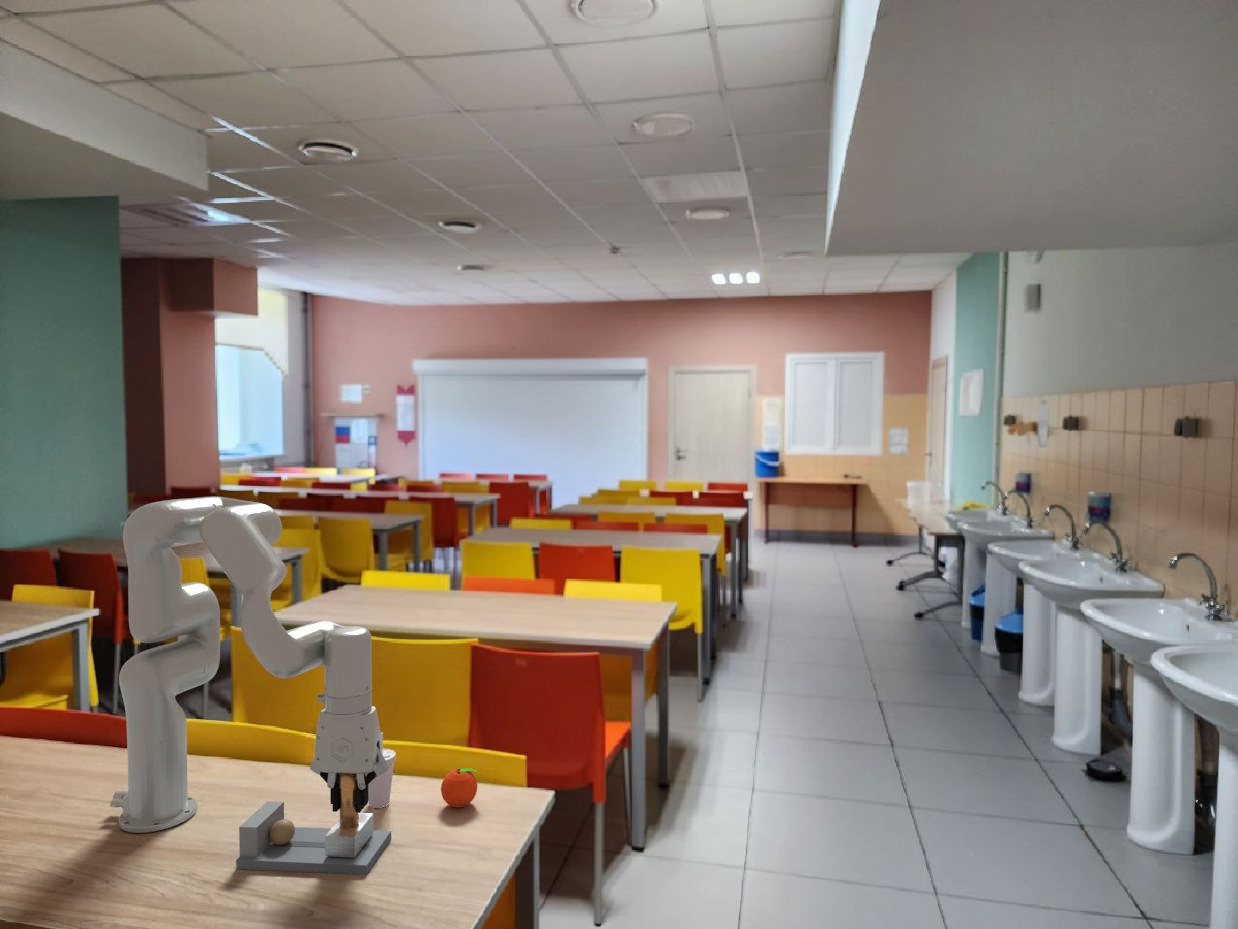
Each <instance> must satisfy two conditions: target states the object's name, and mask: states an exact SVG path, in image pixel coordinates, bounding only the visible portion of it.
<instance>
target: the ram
mask: <svg viewBox="0 0 1238 929" xmlns="http://www.w3.org/2000/svg"><path fill="white" fill-rule="evenodd" d="M357 788H358V781H357V774H349V773H339V792H340V809H339V819H338V820H337V821H336V822H335V824H334V825H333V826H332V827H331V830H330V831H329V832H328V833H327V834H326V835H325V856H334V857H355V856H356V855H357V854H358V852H359V851H360V850H361V848H362V847H363V846H364V844H365V843H366V842H367V840H368V839H369V838H370V836H371V835H372V834H373V830H374V813H371V812H369V813H368V812H360V813H356V812H355V790H356V789H357Z"/></svg>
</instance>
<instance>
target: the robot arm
mask: <svg viewBox="0 0 1238 929" xmlns="http://www.w3.org/2000/svg"><path fill="white" fill-rule="evenodd" d="M122 531H123V532H122V544H123V549H124V553H125V557H126V563H127V569H128V572H127V573H128V575H127V576H128V578H127V580H128V582H127V586H128V587H127V589H128V590H127V591H128V592H127V593H128V625H129V626H128V627H129V632H130V634H131V636H132V638H134V640H136V641H137V642H140V643H142V644H143V643H144V644H154V643H158V642H162V641H166V640H169V639H173V638H177V641H174V642H171V643H167V644H166V643H165V644H163V645H158V646H156V647H152V648H150V649H146V650H144V651H141V652H139V653H137V654H135V655H133V656H131V657H130V658H129V659H128V660H127V661H125V663H124V664H123V665H122V666H121V669H120V671H119V677H118V683H119V688H120V692H121V697H122V699H123V700H122V701H123V705H124V710H125V711H124V712H125V719H126V740H127V741H126V742H127V743H126V746H127V747H126V748H127V750H126V751H127V789H128V791H126V790H125V791H123V790H117V791H115V792H114V794H113V796H112V800H111V801H110V804H109V806H110V808H121V809H122V813H121V814H120V816H119V818H118V826H119V828H120V829H121V830H122V831H125V832H126V833H136V834H137V833H139V834H144V833H152V832H153V833H154V832H157V831H158V832H159V831H162V830H167V829H171V828H172V827H175V826H178V825H179V824H182V823H184V822H185V821H187V820H189V819H190V818H191V817H193V816H194V815H195V814H196V812H197V811H198V801H197V800H196V798H194V797H192V796H189V793H188V792H189V789H188V787H189V785H188V739H187V738H188V737H187V736H188V735H187V731H188V730H187V728H188V727H187V716H186V713H185V711H184V710H183V708H182V707H181V706H180V705H179V703H178V702H177V700H176V696H177V695H180V694H182V693H183V692H186V691H188V690H189V691H190V690H192V689H193V688H197V687H199V686H201V685H204V684H206V683H208V682H209V681H211V680H212V679H213V678H214V677H215V675H216V674H217V672H218V669H219V667H220V660H221V614H220V613H221V612H220V611H221V609H220V604H219V599H218V598H217V596H216V594H215V592H214V591H213V590H212V589H211V588H210V586H207V585H206V584H204V583H202V582H186V583H183V568H182V564H181V561H180V559H179V557H178V555H177V554H176V552H175V551H174V550H173V549H172V548H173V547H174V548H175V547H181V546H186V545H195V544H201V543H203V544H204V545H205V547H206V548H207V550H208V551H209V552H210V553H211V555H212V557H213V558H214V559H215V561H216V562H217V564H218V565H219V566H220V568H221V569H222V571H223V572H224V574H225V575H226V576H227V578H228V579H229V581H230V582H231V583H232V584H233V586H234V587H235V589H236V590H237V592H238V593H239V594H240V598H241V599H240V606H239V621H240V629H241V634H242V637H243V639H244V641H245V644H246V645H247V647H248V648H249V650H251V652H252V654H253V655H254V657H255V658H256V659H257V661H258V663H260V665H261V666H262V667H263V668H264V669H265V670H266V671H267V672H268V673H269V674H271V675H272V676H274V677H276V678H280V679H290V678H294V677H297V676H299V675H301V674H303V673H304V674H305V673H307V672H308V671H311V670H314V669H317V668H319V667H322V666H324V692H323V693H319V694H318V695H317V696H316V699H317V700H316V701H317V703H322V704H323V709H322V710H321V711H320V712H319V716H318V719H317V726H316V732H315V743H314V758H313V760H312V762H311V764H310V765H309V770H310V771H312V772H314V773H315V774H317V775H319V776H320V778H322V779H323V780H324V782H325V783H327V784H326V785H327V788H328V789H330V790H329V792H330V793H329V794H330V804H331V805H332V812H333V813H336V812H338V811H340V792H339V773H349V774H357V781H358V788H357V789H356V790H355V812H356V813H362V810H363V809H364V808H365V807H366V806H367V805H369V792H368V784H369V783H370V782H371V781H372V780H373V779H374V778H376V777H378V776H380V775H382V774H383V773H385V772H386V771H387V770H388V769H389V766H388V764H387V762H386V760H385V759H384V757H383V755H382V753H381V735H380V733H381V728H380V722H379V716H378V712H377V709H376V706H373V678H372V677H373V665H372V664H373V662H372V660H373V656H372V652H373V649H372V648H373V647H372V633H371V631H370V630H368V629H367V628H366V627H363V626H356V625H355V626H354V625H353V626H352V625H351V626H346V625H341V624H338V623H336V622H333V621H329V620H316V621H313V622H310V623H307V624H304V625H299V626H298V627H295V628H291V629H288V630H286V629H285V628H284V626H283V625H282V623H281V622H280V620H279V619H278V618H277V616H276V614H275V612H274V610H273V607H272V603H271V602H272V601H271V597H272V593H273V591H275V590H276V589H277V588H278V587H279V586H280V585H281V584H282V583H283V581H284V580H285V578H286V576H287V574H288V569H287V566H286V564H285V563H284V562H283V560H282V558H280V556H279V555H278V553H277V552H276V551H275V549H274V548H273V547H272V546H273V545H274V544H276V543H277V542H278V541H279V539H280V538H281V535H282V532H283V524H282V520H281V518H280V516H279V514H278V513H277V512H276V511H275V510H274V509H273V508H272V507H271V506H269V505H267V504H264V503H261V502H257V501H256V502H255V501H250V500H249V501H248V500H243V499H238V498H230V497H223V496H203V497H202V496H201V497H192V498H177V499H176V498H175V499H167V500H166V499H165V500H161V501H155V502H151V503H146V504H144V505H142V506H139V507H138V508H136V509H135V510H133V511H132V512H131V514H130V515H129V516H128V517H127V519H126V521H125V523H124V525H123V530H122ZM375 764H376V766H377V768H375V769H373V768H374V767H375ZM372 769H373V770H372ZM371 770H372V771H371ZM370 771H371V772H370Z"/></svg>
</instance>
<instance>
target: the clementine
mask: <svg viewBox="0 0 1238 929" xmlns="http://www.w3.org/2000/svg"><path fill="white" fill-rule="evenodd" d="M472 772H475V773H477V774H479V772H478V770H476V769H474V768H468V767H467V768H466V767H465V768H461V767H460V768H455V769H453V770H451V771H449V772H447V774H446V775H445V777H444V778H443V780H442V782H441V784H440V785H441V787H440V792H441V796H442V800H444V802H445V803H446V804H447V805H449V806H450V807H453V808H463V807H465V806H467V805H469V804H470V803H471V802H472V801H473V800H474V799H475V798H476V795H477V792H478V788H479V787H478V781H477V779H476V776H475V774H474V773H472ZM479 776H480V777H482V776H481V774H479Z"/></svg>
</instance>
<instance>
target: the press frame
mask: <svg viewBox="0 0 1238 929" xmlns="http://www.w3.org/2000/svg"><path fill="white" fill-rule="evenodd" d="M331 828H332V827H331ZM331 828H329V827H328V828H325V827H304V826H303V827H302V826H300V827H299V826H295V825H294V823H293V821H291V820H289V819H287V818H285V802H284V801H273V800H271V801H270V800H268V801H266V802H265V803H264V804H263V805H262V806H260V807H259V808H258V809H257V810H256V811H255V812H254V813H253V814H252V815H251V816H250V817H249V818H248V819H246V820H245V821H244V822H243V823H242V824H240V826H239V827H238V833H239V834H238V835H239V836H238V837H239V838H238V840H239V844H238V845H239V857H238V858H237V859H236V860H235V862H236V864H235V865H236V866H235V868H236V869H237V870H256V871H257V870H258V871H259V870H260V871H279V872H280V871H282V872H303V873H325V874H346V875H348V874H349V875H350V874H351V875H368V874H369V872H370V871H371V869H373V867H374V865H375V863H376V862H377V860H378V859H379V857H380V856H381V855H382V853H383V852H384V850H386V849H385V848H386V847H388V844H390V842H391V840H392V831H391V830H380V829H379V830H377V829H373V834H372V835H371V836H370V838H369V839H368V840H367V842H366V843H365V844H364V846H363V847H362V848H361V850H360V851H359V852H358V854H357V855H356V856H355V857H334V856H325V835H326V834H327V833H328V832H329V831H330V830H331Z"/></svg>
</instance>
